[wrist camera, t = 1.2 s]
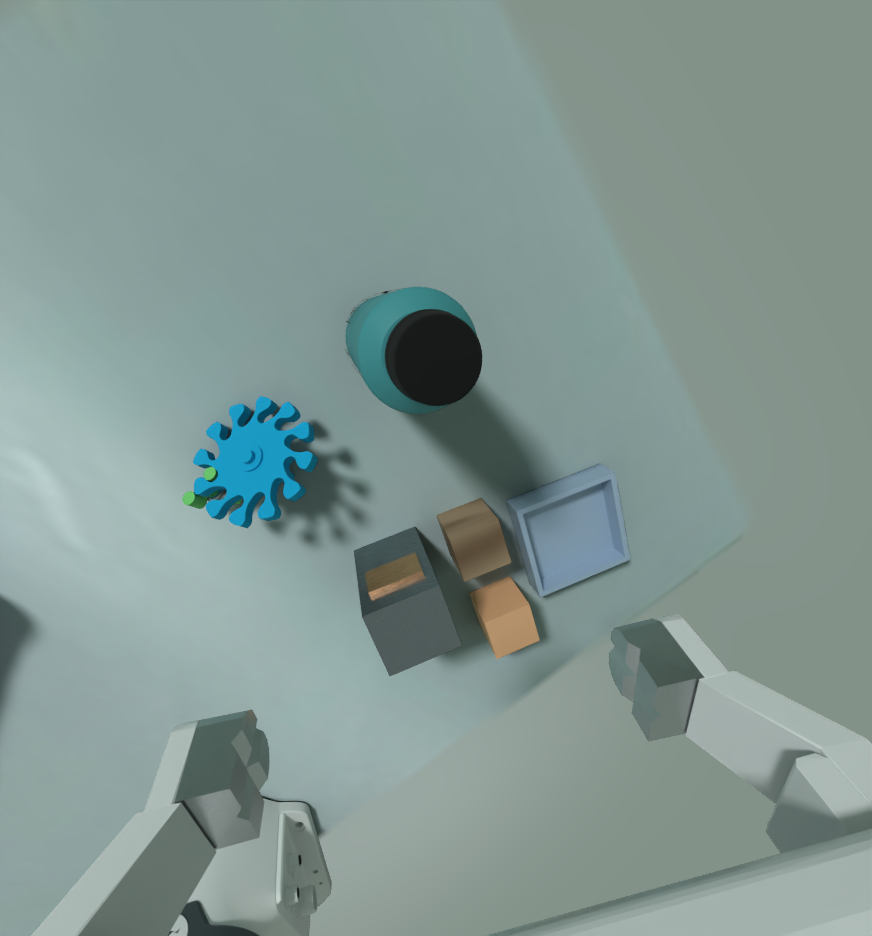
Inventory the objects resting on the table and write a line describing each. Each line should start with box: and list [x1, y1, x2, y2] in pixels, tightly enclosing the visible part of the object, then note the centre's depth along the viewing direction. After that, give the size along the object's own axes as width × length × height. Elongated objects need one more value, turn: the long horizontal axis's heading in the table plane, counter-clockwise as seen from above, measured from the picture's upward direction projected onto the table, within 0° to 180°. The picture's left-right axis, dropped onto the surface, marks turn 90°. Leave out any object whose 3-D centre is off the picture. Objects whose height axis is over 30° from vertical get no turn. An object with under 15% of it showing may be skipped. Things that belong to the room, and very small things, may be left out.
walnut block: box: [437, 498, 511, 582], centre depth 43 cm, size 4×4×5 cm
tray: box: [506, 464, 630, 597], centre depth 46 cm, size 10×10×3 cm
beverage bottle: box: [345, 287, 482, 414], centre depth 29 cm, size 6×7×20 cm
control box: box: [354, 527, 462, 676], centre depth 40 cm, size 7×6×10 cm
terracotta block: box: [469, 576, 540, 659], centre depth 47 cm, size 4×4×5 cm
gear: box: [183, 396, 318, 528], centre depth 37 cm, size 11×6×10 cm
